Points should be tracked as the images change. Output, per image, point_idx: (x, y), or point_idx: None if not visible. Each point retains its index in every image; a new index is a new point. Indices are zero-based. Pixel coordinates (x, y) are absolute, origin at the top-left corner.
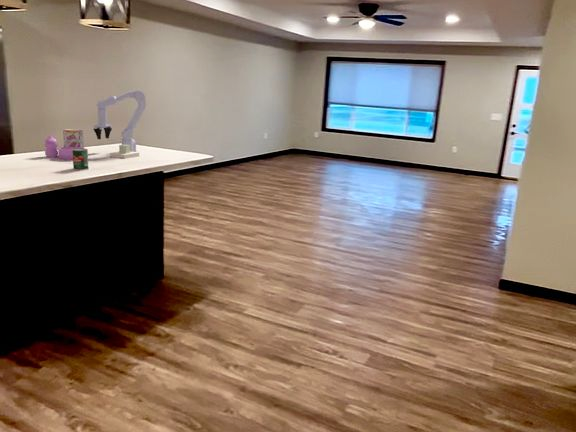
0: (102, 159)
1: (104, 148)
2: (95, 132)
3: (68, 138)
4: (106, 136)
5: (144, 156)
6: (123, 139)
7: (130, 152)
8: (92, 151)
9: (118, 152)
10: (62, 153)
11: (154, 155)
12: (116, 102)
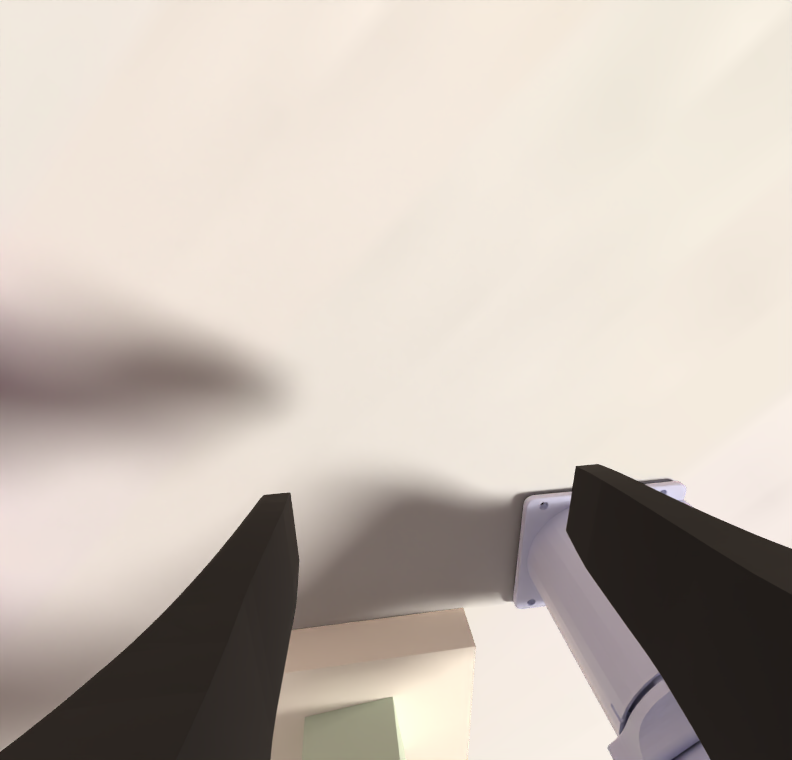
0: (18, 725)
1: (771, 30)
2: (90, 699)
3: None
4: (604, 521)
5: (472, 757)
6: (631, 738)
7: (412, 743)
8: (355, 169)
9: (313, 699)
10: None
11: (571, 754)
12: None
